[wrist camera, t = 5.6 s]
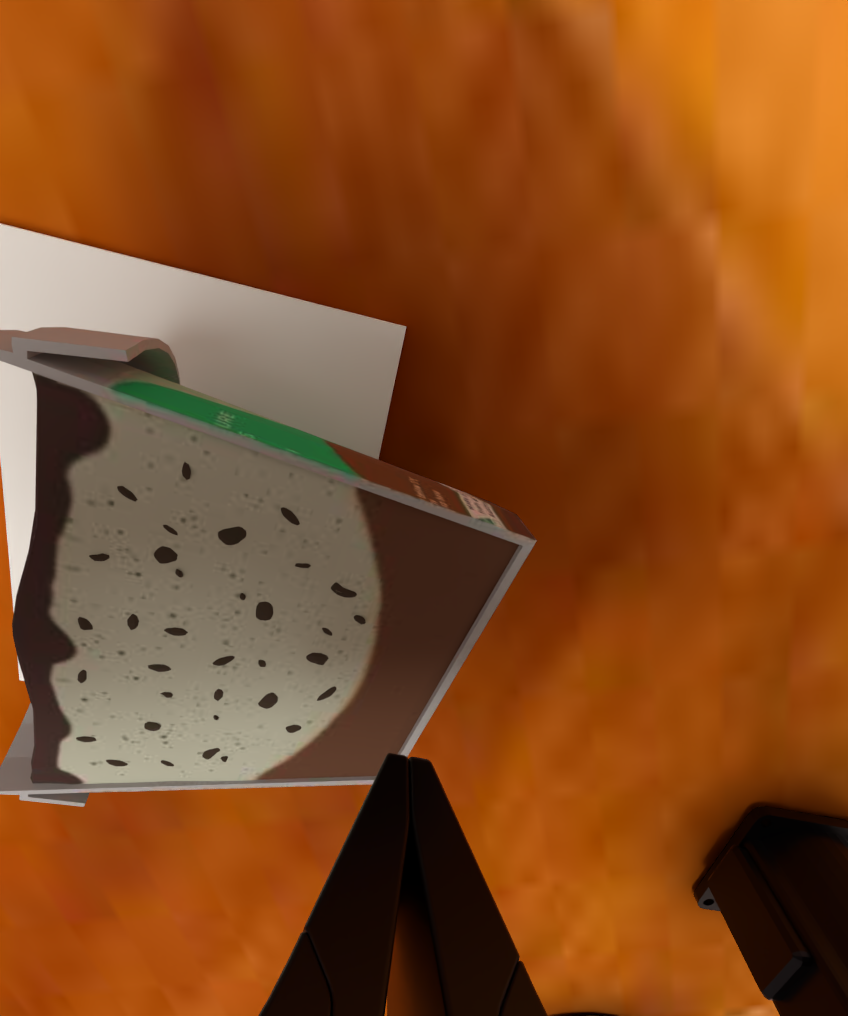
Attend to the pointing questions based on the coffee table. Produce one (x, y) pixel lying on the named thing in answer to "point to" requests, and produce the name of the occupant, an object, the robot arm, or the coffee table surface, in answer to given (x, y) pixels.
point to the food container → (227, 587)
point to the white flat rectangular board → (188, 351)
